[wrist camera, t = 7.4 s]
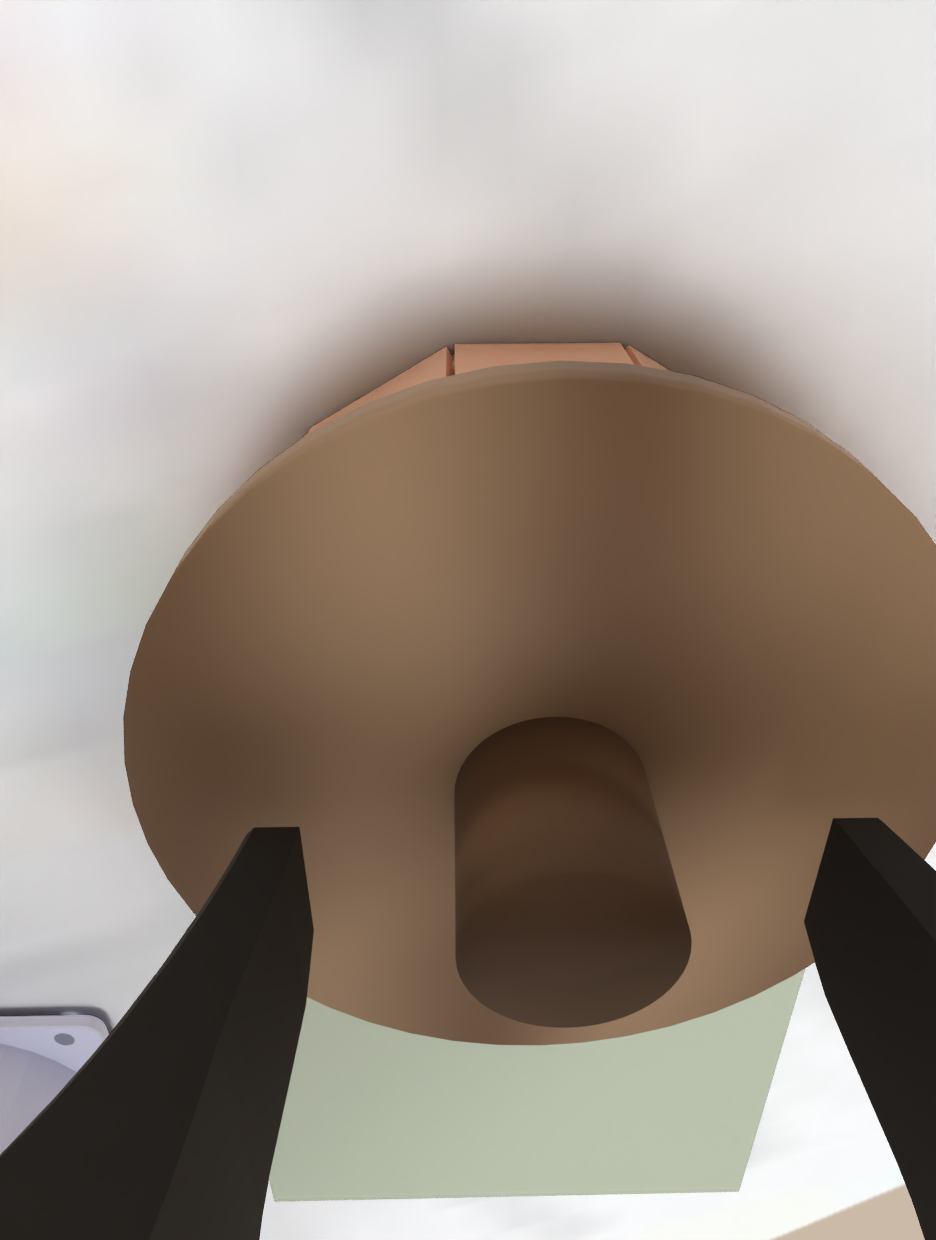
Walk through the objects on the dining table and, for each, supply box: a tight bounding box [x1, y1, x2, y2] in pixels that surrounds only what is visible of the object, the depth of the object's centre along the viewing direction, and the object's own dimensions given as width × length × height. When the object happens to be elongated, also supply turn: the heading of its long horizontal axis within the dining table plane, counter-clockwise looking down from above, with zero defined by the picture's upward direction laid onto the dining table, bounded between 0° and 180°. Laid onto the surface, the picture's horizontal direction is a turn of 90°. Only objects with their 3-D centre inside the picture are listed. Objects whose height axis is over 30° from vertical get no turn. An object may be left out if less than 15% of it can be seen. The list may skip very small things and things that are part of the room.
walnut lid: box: [124, 360, 936, 1045], centre depth 13 cm, size 13×13×4 cm
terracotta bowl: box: [304, 343, 670, 436], centre depth 16 cm, size 11×11×4 cm
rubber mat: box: [269, 969, 805, 1201], centre depth 25 cm, size 15×15×1 cm
